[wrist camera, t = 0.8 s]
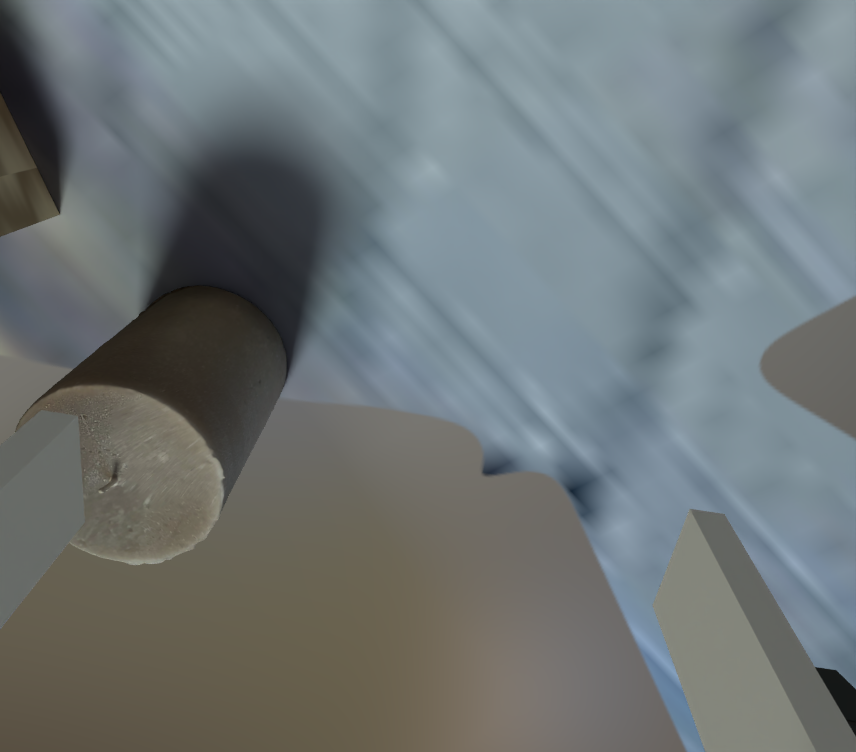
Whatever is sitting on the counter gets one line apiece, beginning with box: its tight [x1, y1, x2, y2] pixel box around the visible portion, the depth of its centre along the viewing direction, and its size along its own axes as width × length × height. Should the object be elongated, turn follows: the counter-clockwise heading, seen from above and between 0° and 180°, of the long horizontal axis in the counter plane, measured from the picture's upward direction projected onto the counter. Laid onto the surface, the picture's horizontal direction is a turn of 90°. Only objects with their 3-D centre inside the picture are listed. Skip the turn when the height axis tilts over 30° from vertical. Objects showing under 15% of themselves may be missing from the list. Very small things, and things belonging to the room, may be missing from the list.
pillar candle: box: [15, 285, 287, 565], centre depth 37 cm, size 10×10×15 cm
